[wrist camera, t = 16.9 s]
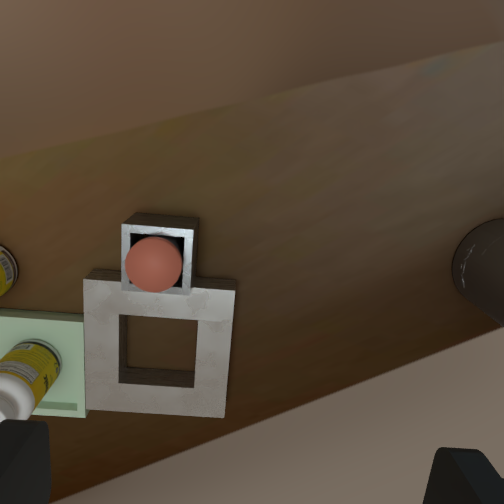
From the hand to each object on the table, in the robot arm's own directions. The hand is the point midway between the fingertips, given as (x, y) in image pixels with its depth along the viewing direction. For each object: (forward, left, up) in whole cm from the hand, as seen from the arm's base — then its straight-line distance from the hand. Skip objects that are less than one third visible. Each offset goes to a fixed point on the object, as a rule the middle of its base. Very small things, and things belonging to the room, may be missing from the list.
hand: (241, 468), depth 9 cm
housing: (+7, +12, -33) cm, 36 cm away
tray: (+20, +18, -33) cm, 43 cm away
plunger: (+7, +5, -32) cm, 33 cm away
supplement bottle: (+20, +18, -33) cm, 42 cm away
